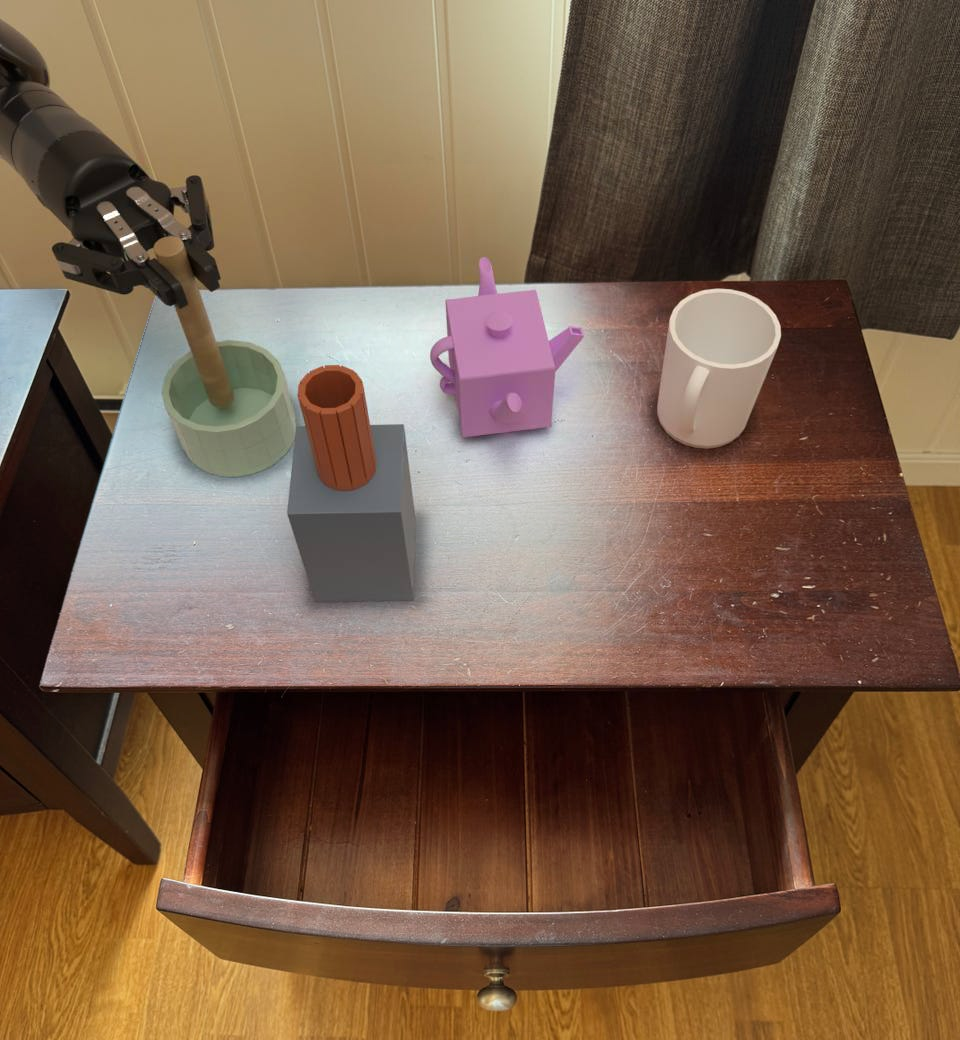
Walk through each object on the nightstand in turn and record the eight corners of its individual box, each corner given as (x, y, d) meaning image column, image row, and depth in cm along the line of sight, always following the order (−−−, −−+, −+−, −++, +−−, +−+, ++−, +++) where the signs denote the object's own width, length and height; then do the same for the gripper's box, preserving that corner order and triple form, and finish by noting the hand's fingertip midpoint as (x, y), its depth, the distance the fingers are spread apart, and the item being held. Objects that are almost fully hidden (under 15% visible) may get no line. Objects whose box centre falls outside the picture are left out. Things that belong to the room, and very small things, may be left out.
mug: (674, 365, 90) (694, 275, 81) (765, 399, 88) (796, 310, 79) (625, 447, 85) (641, 361, 76) (721, 484, 83) (748, 401, 74)
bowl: (175, 479, 84) (153, 433, 79) (190, 389, 89) (171, 341, 84) (291, 476, 84) (278, 430, 79) (300, 387, 89) (288, 338, 84)
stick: (213, 411, 84) (157, 259, 70) (206, 394, 85) (149, 241, 71) (237, 403, 85) (186, 250, 71) (230, 386, 86) (178, 232, 72)
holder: (314, 602, 78) (262, 438, 61) (321, 521, 82) (273, 344, 64) (413, 600, 78) (390, 435, 60) (415, 519, 82) (393, 342, 64)
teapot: (596, 469, 84) (608, 390, 76) (446, 488, 83) (441, 410, 75) (559, 322, 93) (565, 236, 84) (423, 338, 92) (415, 253, 83)
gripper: (-19, 170, 73) (97, 292, 66) (141, 96, 77) (265, 203, 70) (23, 254, 79) (133, 372, 73) (168, 181, 83) (284, 286, 77)
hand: (197, 288), depth 72 cm, fingers closed on stick, 2 cm apart
